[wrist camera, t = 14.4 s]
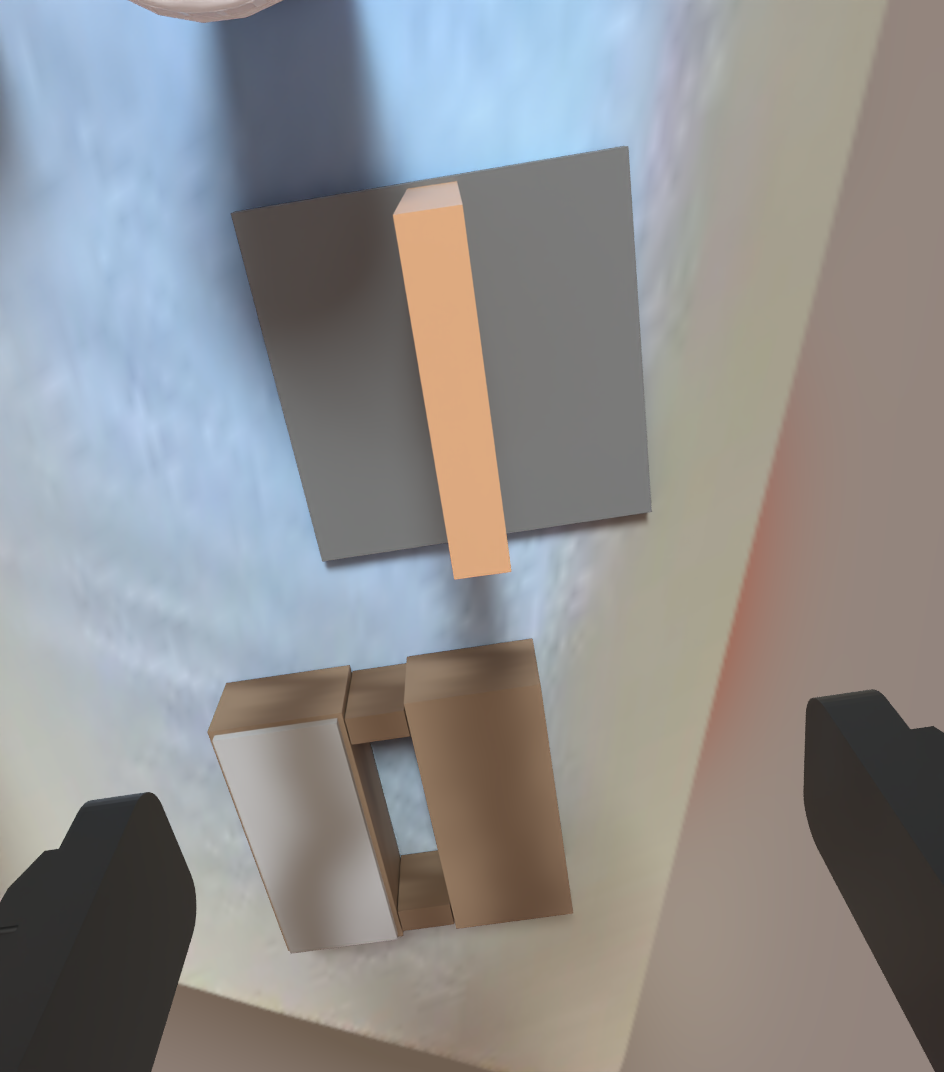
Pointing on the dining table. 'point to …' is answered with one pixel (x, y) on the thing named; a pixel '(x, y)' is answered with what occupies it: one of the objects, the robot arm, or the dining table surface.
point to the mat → (506, 339)
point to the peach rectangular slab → (452, 375)
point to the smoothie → (206, 8)
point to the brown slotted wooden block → (359, 804)
